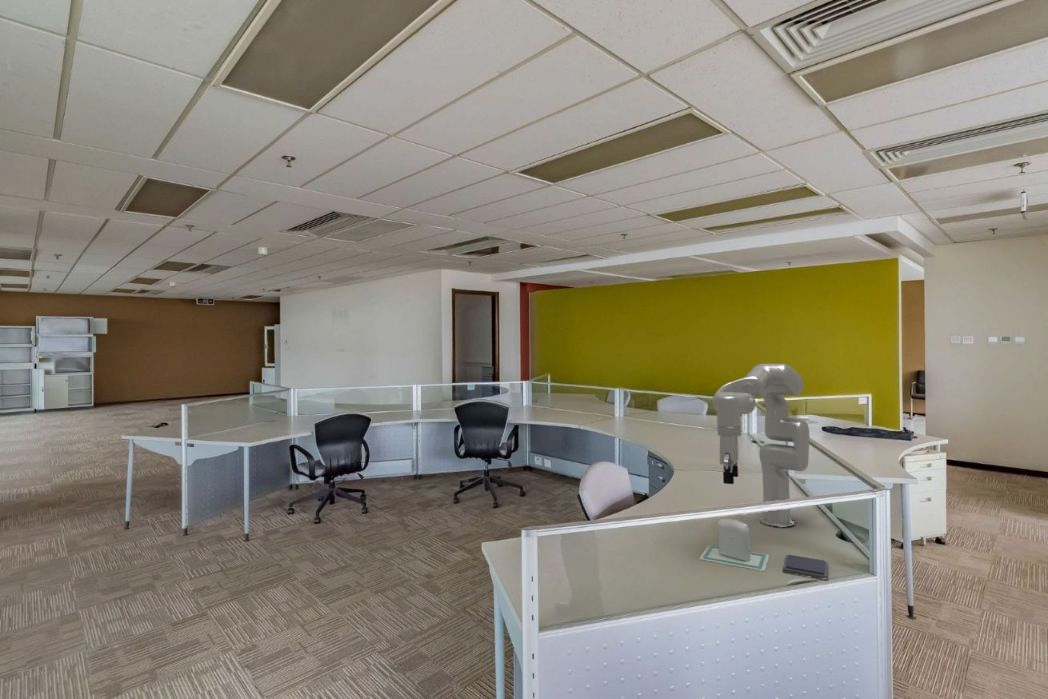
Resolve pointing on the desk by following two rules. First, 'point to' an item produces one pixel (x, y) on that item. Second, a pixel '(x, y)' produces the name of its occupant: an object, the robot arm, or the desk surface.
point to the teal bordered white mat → (755, 561)
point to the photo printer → (734, 539)
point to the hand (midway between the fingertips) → (731, 480)
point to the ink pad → (805, 566)
